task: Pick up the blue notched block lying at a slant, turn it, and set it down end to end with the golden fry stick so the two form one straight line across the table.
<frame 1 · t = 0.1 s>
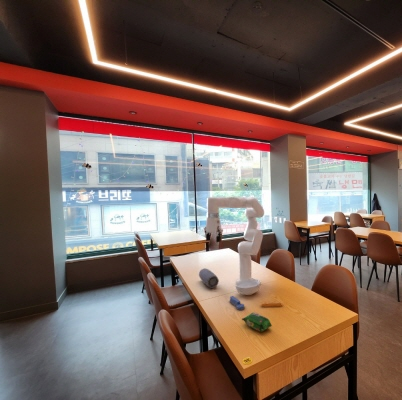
hand: (213, 241, 151), 37 cm above the table, tool pointing down, fingers open, 9 cm apart
bluetooth speaker: (208, 284, 173), on the table
cereal bowl: (248, 293, 157), on the table
snack package: (256, 327, 115), on the table
blue notched block: (235, 304, 140), on the table
fry: (271, 305, 138), on the table
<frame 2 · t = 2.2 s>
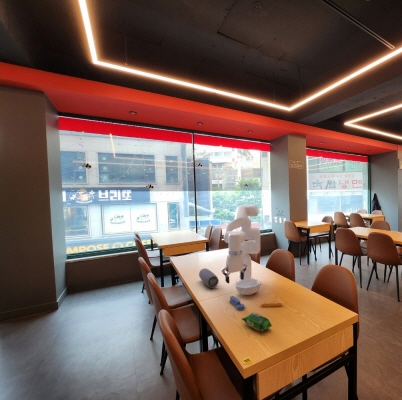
hand: (234, 280, 140), 15 cm above the table, tool pointing down, fingers open, 9 cm apart
nothing on the table moved.
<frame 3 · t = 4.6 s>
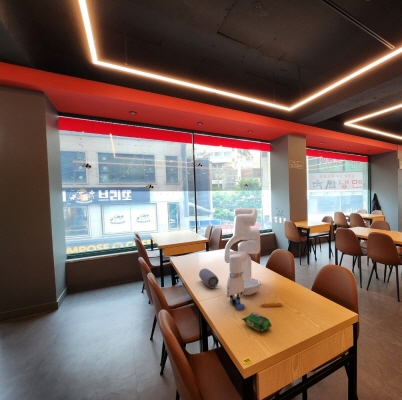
hand: (235, 304, 140), 0 cm above the table, tool pointing down, fingers closed on blue notched block, 2 cm apart
blue notched block: (235, 304, 140), on the table, touching gripper
everything else where it was.
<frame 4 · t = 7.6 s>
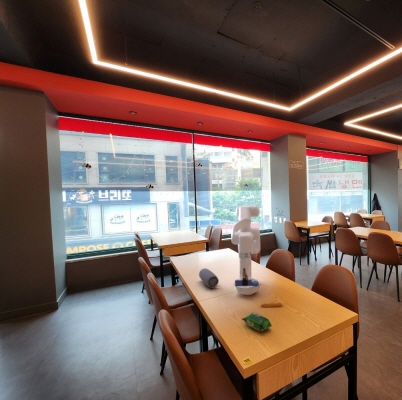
hand: (245, 284, 137), 13 cm above the table, tool pointing down, fingers closed on blue notched block
blue notched block: (245, 285, 137), point 13 cm above the table, touching gripper
everything else where it was.
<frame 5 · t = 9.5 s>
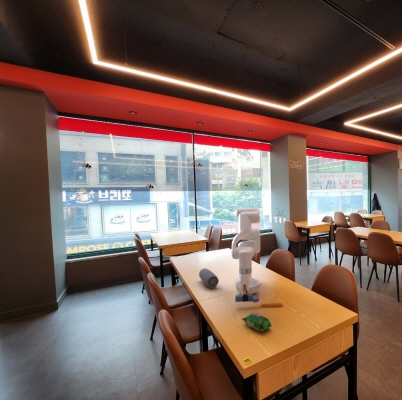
hand: (245, 300, 137), 4 cm above the table, tool pointing down, fingers closed on blue notched block
blue notched block: (245, 301, 137), point 4 cm above the table, touching gripper
everything else where it was.
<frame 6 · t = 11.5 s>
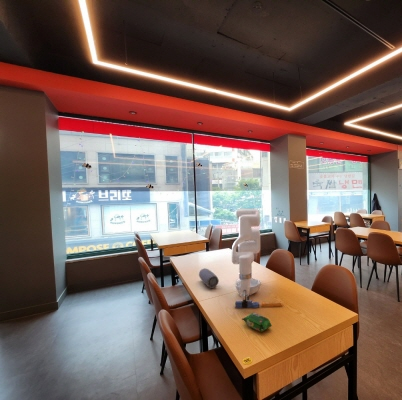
hand: (245, 303, 137), 2 cm above the table, tool pointing down, fingers open, 9 cm apart
blue notched block: (245, 306, 137), on the table
everything else where it was.
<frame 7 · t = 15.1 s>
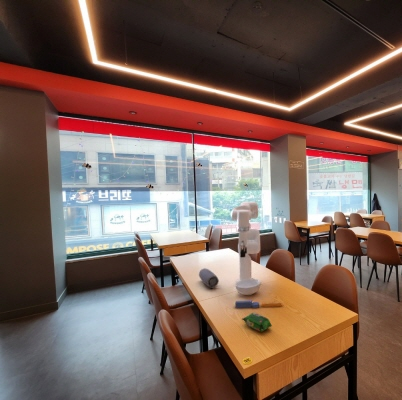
hand: (243, 255, 149), 28 cm above the table, tool pointing down, fingers open, 9 cm apart
nothing on the table moved.
at the end: blue notched block 0.2 cm from the target spot on the table beside the fry, on the table; blue notched block tilted 0°; fry moved 0.0 cm from its start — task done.
